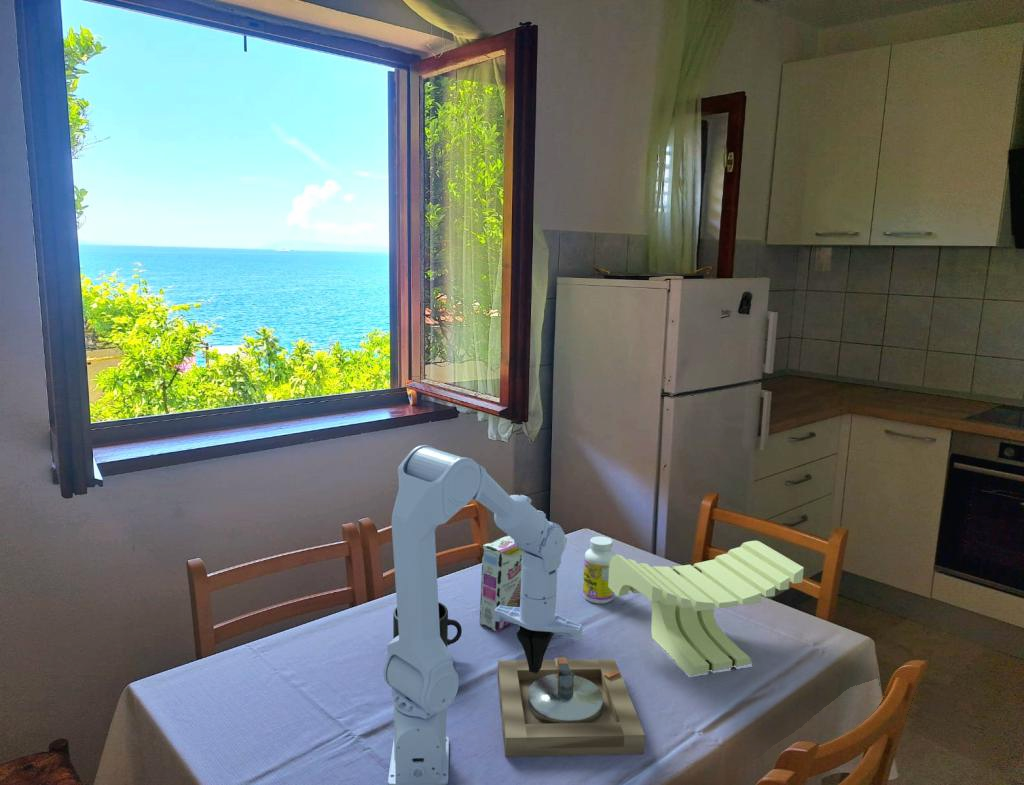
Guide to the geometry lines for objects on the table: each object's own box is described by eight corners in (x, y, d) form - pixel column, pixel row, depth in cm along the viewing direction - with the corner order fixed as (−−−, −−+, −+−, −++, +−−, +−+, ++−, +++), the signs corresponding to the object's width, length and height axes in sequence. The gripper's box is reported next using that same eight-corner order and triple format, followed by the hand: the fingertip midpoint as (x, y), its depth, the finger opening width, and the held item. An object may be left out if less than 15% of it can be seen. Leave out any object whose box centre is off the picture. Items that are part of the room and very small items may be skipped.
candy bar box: (498, 634, 134) (500, 552, 131) (478, 625, 137) (480, 544, 135) (534, 613, 143) (537, 535, 140) (515, 605, 146) (517, 529, 143)
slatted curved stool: (740, 618, 143) (748, 534, 140) (793, 660, 128) (803, 567, 125) (605, 637, 134) (610, 548, 131) (645, 685, 119) (652, 585, 116)
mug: (465, 670, 122) (466, 621, 120) (395, 676, 119) (395, 627, 118) (457, 641, 131) (458, 596, 129) (391, 647, 128) (391, 601, 127)
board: (643, 753, 102) (645, 731, 102) (505, 757, 101) (505, 734, 100) (613, 675, 122) (614, 656, 121) (497, 676, 120) (498, 657, 120)
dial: (609, 726, 106) (611, 696, 105) (531, 728, 105) (533, 697, 104) (594, 682, 117) (596, 654, 116) (524, 683, 116) (525, 654, 115)
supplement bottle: (576, 593, 152) (579, 536, 150) (603, 588, 155) (606, 532, 153) (593, 607, 146) (596, 548, 144) (620, 601, 149) (623, 543, 147)
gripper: (589, 590, 114) (585, 668, 117) (507, 573, 120) (504, 647, 122) (575, 609, 108) (571, 690, 110) (489, 589, 114) (487, 667, 116)
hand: (535, 669), depth 116 cm, fingers closed
